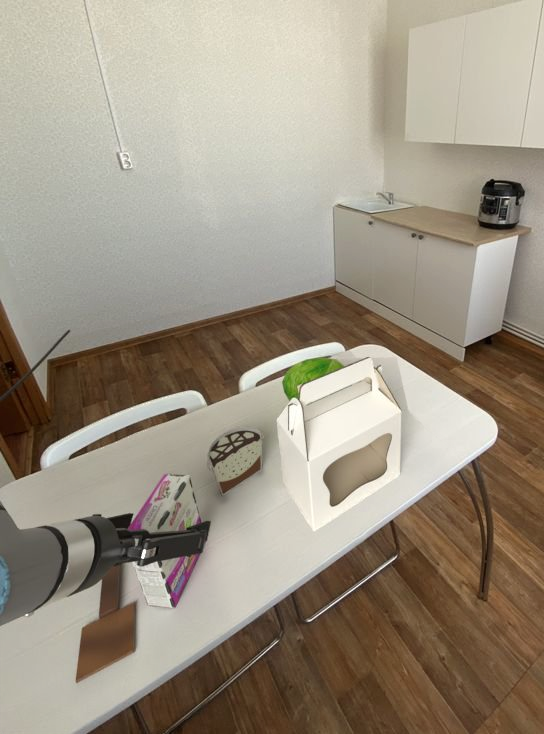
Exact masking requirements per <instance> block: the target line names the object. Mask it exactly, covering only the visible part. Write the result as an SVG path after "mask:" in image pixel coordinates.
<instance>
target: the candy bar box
mask: <svg viewBox="0 0 544 734" xmlns="http://www.w3.org/2000/svg"><path fill="white" fill-rule="evenodd" d="M199 523H202V520H201V514H200V511H199V508H198V503H197V500H196V495H195V491H194V487H193V483H192V479H191V475H190V474H172V473H164V474H163V475H162V477H161V478H160V480H159V481H158V483H157V484H156V486H155V487H154V489H153V490H152V492H151V493H150V495H149V496H148V497H147V499H146V501H145V502H144V503H143V504H142V507H140V509H139V511H138V513H137V514H136V515H135V517H134V518H133V519H132V521H131V524H130V526H129V527H128V529H127V530H135V529H145V530H147V531H149V533H153V532H166V531H180V530H186V529H187V527H190V526H193V525H196V524H199ZM139 536H140V535H138V536H134V538H135V543H136V544H135V546H137V544H138V540H139ZM205 544H206V542H205V543H204V545H205ZM200 555H201V553H200V554H194V555H192V557H187V556H184V557H179V558H174V559H169V560H163V561H158V562H154V563H151V564H149V565H145V566H143V567H140V566H138V565H137V563H138V561H136V562H131V563H132V566H133V568H134V571H135V573H136V577H137V579H138V582H139V585H140V588H141V591H142V593H143V596H144V600H145V601H146V602H145V603H146V604H147V606H149V607H159V608H160V607H161V608H168V609H176V606H177V604H178V603H179V600H180V598H181V596H182V594H183V592H184V589H185V587H186V585H187V583H188V580H189V578H190V576H191V574H192V572H193V569H194V568H195V566H196V563H197V561H198V559H199V557H200Z"/></svg>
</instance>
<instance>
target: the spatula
mask: <svg viewBox="0 0 544 734" xmlns="http://www.w3.org/2000/svg"><path fill="white" fill-rule="evenodd" d="M121 564H122V563H121ZM121 564H120V565H118V566H113V567H112V568H111V569H110V570H109V572H108V573H107V574H106V575H105V576H104V578H103V579H102V580H101V585H100V586H101V587H100V597H99V599H100V600H99V606H98V607H99V609H98V618H99V619H97V620H95V621H93V622H91V623H89V624H87V625H85V626H83V627H81V633H80V640H79V648H78V659H77V666H76V674H75V684H78V683H80V682H82V681H84V680H86V679H87V678H89V677H91V676H93V675H95V674H96V673H98V672H101V671H102V670H104V669H107V668H108V667H110V666H111V665H114V664H115V663H117V662H120V661H121V660H123V659H125V658H126V657H129V656H130V655H132V654H134V653H135V631H136V623H135V622H136V616H135V615H136V603H135V602H132V603H130V604H129V605H126V606H124V607H121V608H120V609H119V605H120V604H119V603H120V602H119V601H120V588H121V587H120V585H121Z"/></svg>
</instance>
